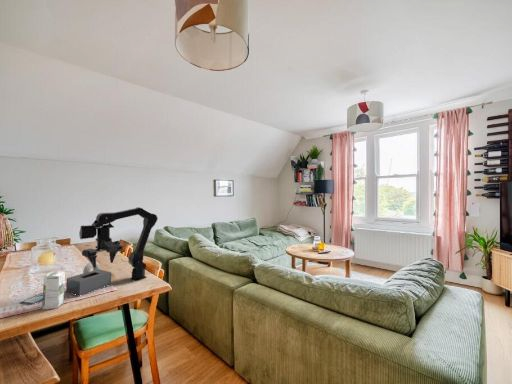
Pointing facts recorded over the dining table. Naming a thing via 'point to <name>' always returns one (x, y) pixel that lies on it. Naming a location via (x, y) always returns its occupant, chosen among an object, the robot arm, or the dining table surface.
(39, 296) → the smartphone
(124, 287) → the dining table surface
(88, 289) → the cash box
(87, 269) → the donut
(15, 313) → the dining table surface
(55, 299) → the syrup box
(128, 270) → the dining table surface
